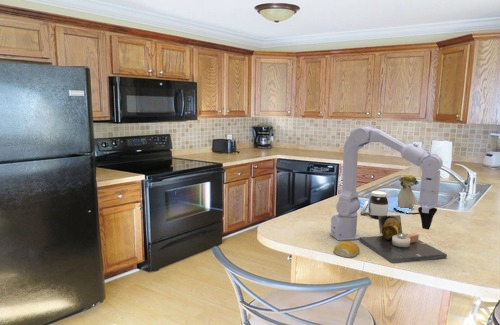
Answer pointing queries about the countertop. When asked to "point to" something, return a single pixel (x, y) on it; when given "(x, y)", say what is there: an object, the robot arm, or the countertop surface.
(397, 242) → the collar
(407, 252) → the base
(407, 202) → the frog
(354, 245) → the bread roll
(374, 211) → the spread jar
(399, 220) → the condiment
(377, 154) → the countertop surface
